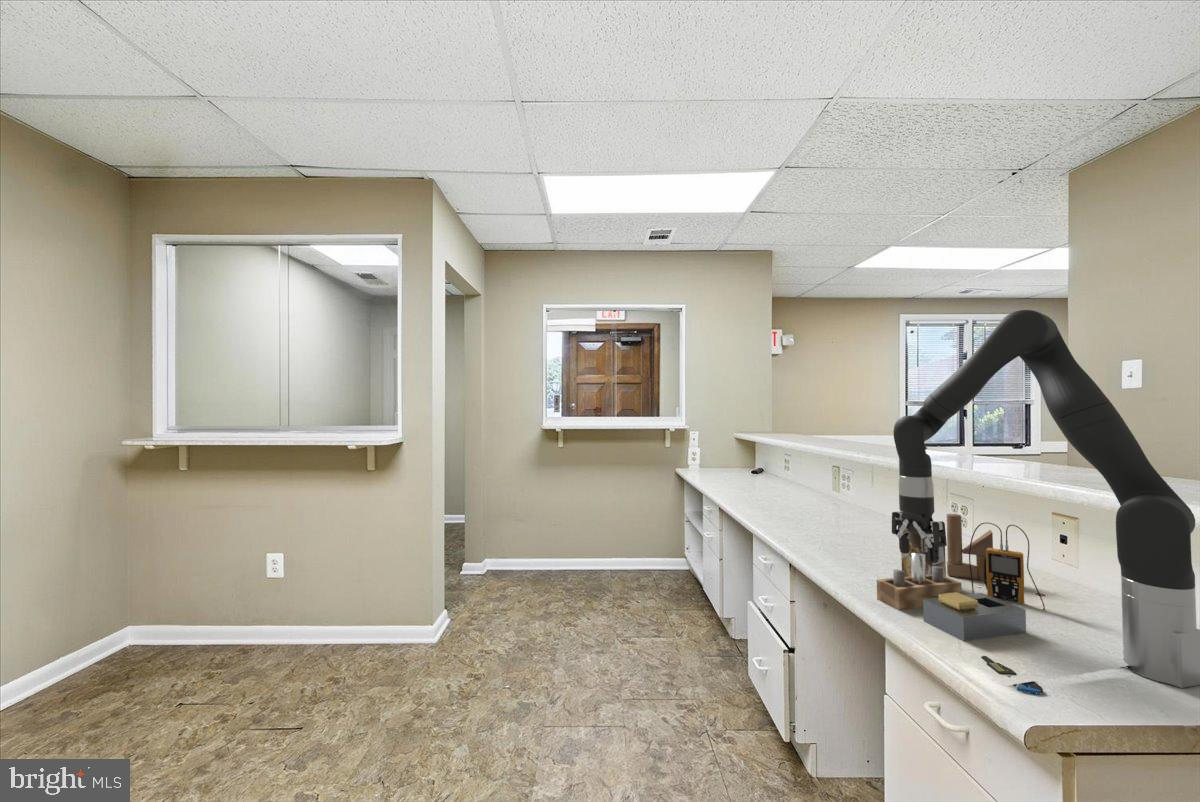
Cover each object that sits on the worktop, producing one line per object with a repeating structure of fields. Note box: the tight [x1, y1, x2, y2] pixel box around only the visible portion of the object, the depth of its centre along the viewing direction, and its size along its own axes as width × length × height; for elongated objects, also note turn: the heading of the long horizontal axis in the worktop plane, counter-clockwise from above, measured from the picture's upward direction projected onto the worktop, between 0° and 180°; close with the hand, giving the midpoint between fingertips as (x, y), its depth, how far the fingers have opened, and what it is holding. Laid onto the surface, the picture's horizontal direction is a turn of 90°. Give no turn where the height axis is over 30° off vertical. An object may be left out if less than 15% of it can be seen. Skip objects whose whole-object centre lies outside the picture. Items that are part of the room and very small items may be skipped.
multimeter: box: [968, 522, 1046, 611], centre depth 123 cm, size 15×10×20 cm
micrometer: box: [980, 655, 1044, 695], centre depth 92 cm, size 12×2×5 cm
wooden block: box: [946, 513, 994, 582], centre depth 144 cm, size 4×11×18 cm, turn 59°
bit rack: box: [876, 566, 963, 611], centre depth 125 cm, size 19×7×9 cm, turn 102°
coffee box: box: [900, 532, 947, 577], centre depth 138 cm, size 9×6×16 cm
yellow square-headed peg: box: [939, 592, 978, 611], centre depth 109 cm, size 5×5×6 cm
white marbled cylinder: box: [911, 552, 926, 585], centre depth 125 cm, size 3×3×12 cm
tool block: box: [922, 592, 1027, 642], centre depth 110 cm, size 16×10×6 cm, turn 102°
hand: (918, 557), depth 125 cm, fingers open, 8 cm apart
